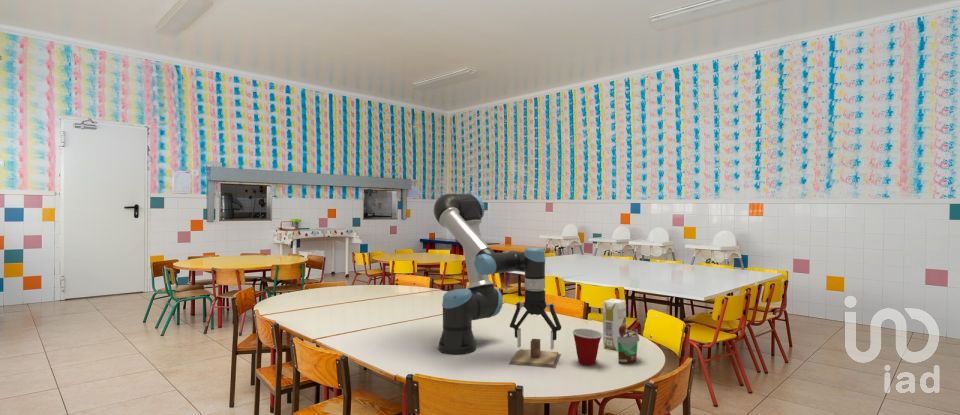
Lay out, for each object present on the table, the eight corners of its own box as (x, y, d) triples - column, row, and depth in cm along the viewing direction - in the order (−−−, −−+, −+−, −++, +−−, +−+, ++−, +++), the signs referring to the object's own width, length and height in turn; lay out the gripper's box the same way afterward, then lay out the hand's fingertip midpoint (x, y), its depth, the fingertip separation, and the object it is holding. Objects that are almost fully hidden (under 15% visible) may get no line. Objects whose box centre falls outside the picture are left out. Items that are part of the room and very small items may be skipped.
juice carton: (600, 347, 204) (600, 300, 203) (611, 343, 210) (611, 297, 210) (618, 351, 198) (617, 303, 198) (628, 346, 205) (628, 300, 205)
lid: (511, 363, 183) (511, 344, 183) (519, 351, 197) (519, 333, 197) (553, 366, 179) (552, 347, 179) (558, 354, 193) (558, 336, 193)
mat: (508, 365, 182) (508, 364, 182) (517, 352, 198) (517, 350, 198) (555, 369, 177) (555, 368, 177) (561, 355, 194) (561, 354, 194)
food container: (634, 367, 179) (634, 339, 179) (617, 364, 183) (617, 337, 183) (643, 358, 190) (643, 331, 190) (627, 355, 193) (626, 329, 193)
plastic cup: (598, 371, 175) (598, 336, 175) (568, 367, 180) (568, 333, 180) (606, 362, 185) (606, 329, 185) (577, 358, 190) (577, 326, 190)
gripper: (501, 289, 187) (501, 348, 188) (566, 292, 181) (567, 352, 181) (505, 286, 195) (506, 342, 195) (568, 288, 188) (569, 347, 188)
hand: (535, 347), depth 188 cm, fingers open, 12 cm apart
